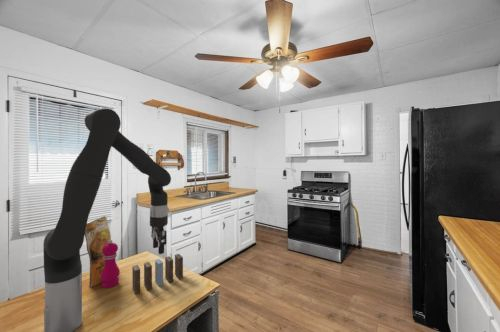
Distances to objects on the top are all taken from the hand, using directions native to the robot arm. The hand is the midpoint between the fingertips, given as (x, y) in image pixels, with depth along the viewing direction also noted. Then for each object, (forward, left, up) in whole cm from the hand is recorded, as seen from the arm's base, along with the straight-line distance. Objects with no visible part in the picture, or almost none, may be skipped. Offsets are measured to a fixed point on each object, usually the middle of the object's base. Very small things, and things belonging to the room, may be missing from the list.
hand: (158, 250), depth 97 cm
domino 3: (0, 0, -15) cm, 15 cm away
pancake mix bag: (-20, +22, -15) cm, 33 cm away
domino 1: (-9, 0, -15) cm, 18 cm away
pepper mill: (-17, +13, -15) cm, 26 cm away
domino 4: (+5, 0, -15) cm, 16 cm away
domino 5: (+9, 0, -15) cm, 18 cm away
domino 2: (-4, 0, -15) cm, 16 cm away
